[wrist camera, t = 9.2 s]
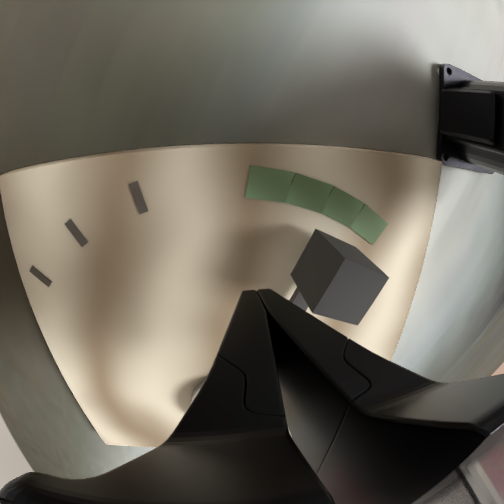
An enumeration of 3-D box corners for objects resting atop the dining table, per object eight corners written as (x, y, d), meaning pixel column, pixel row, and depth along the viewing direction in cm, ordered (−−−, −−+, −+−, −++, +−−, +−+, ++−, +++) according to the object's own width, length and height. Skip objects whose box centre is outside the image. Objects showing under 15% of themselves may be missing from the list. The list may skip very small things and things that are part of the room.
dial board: (425, 156, 15) (443, 161, 13) (359, 405, 24) (365, 418, 23) (13, 170, 11) (-3, 176, 10) (107, 430, 20) (105, 445, 19)
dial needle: (248, 421, 19) (257, 464, 16) (181, 411, 18) (183, 458, 14) (366, 249, 15) (408, 286, 11) (285, 211, 13) (315, 245, 10)
